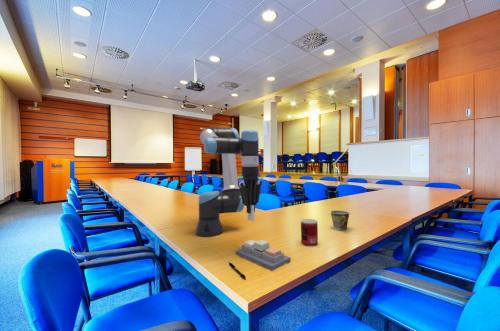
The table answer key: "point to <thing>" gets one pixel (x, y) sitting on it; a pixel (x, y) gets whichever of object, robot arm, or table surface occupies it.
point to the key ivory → (249, 244)
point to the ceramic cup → (340, 220)
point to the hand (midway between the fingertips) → (251, 220)
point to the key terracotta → (273, 252)
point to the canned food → (309, 232)
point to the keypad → (263, 257)
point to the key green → (261, 245)
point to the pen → (237, 271)
